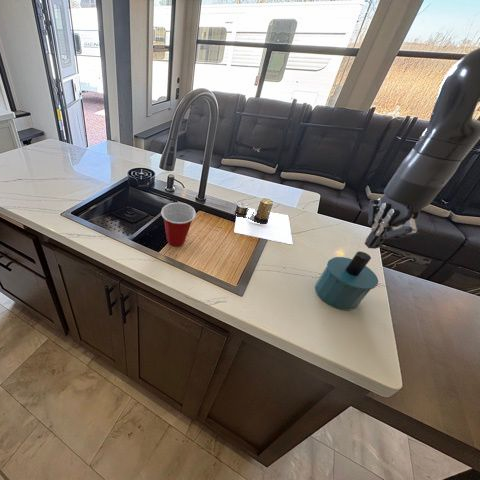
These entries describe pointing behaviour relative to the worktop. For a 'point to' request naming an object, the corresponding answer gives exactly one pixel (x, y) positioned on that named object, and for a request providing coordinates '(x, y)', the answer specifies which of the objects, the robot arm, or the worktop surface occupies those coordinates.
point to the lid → (353, 271)
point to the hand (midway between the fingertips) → (370, 246)
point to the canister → (338, 292)
